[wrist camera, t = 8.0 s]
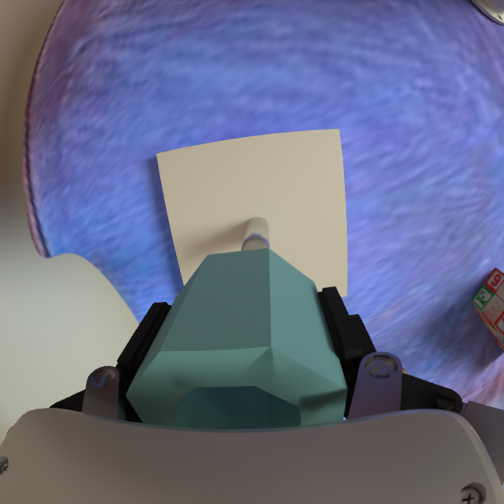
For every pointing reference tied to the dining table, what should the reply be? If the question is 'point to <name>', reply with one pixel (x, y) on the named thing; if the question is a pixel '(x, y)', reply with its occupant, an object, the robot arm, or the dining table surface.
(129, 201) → the dining table surface
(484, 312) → the stack of blocks
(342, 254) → the board
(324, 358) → the bead
